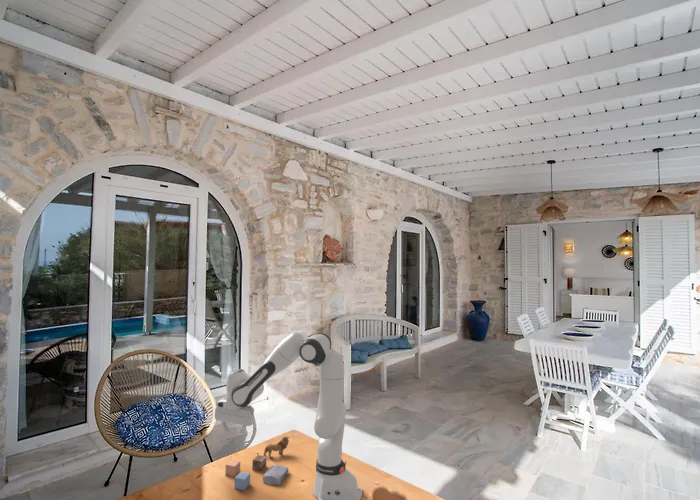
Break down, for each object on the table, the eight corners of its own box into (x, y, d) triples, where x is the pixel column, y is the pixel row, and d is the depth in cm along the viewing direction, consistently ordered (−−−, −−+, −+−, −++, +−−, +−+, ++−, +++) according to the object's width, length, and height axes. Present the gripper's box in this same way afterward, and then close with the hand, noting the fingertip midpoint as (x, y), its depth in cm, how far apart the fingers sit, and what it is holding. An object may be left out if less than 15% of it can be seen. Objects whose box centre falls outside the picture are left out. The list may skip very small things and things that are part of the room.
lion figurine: (286, 450, 215) (286, 433, 215) (290, 454, 210) (290, 437, 210) (260, 457, 207) (260, 440, 207) (263, 461, 202) (264, 444, 202)
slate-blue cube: (249, 484, 183) (250, 473, 183) (244, 490, 178) (244, 479, 178) (240, 482, 184) (240, 471, 184) (234, 488, 180) (234, 477, 180)
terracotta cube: (240, 471, 193) (240, 461, 193) (234, 476, 189) (234, 466, 189) (231, 469, 195) (231, 459, 195) (225, 474, 190) (225, 464, 190)
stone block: (261, 487, 184) (281, 486, 182) (259, 477, 184) (279, 475, 182) (271, 474, 196) (290, 473, 194) (269, 464, 196) (288, 463, 194)
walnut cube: (266, 466, 198) (266, 456, 198) (261, 471, 194) (261, 461, 194) (257, 464, 200) (257, 454, 200) (252, 469, 195) (252, 459, 195)
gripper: (257, 403, 192) (256, 431, 192) (220, 397, 197) (219, 425, 197) (250, 408, 186) (249, 437, 186) (213, 402, 191) (212, 430, 191)
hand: (233, 431), depth 192 cm, fingers open, 8 cm apart
